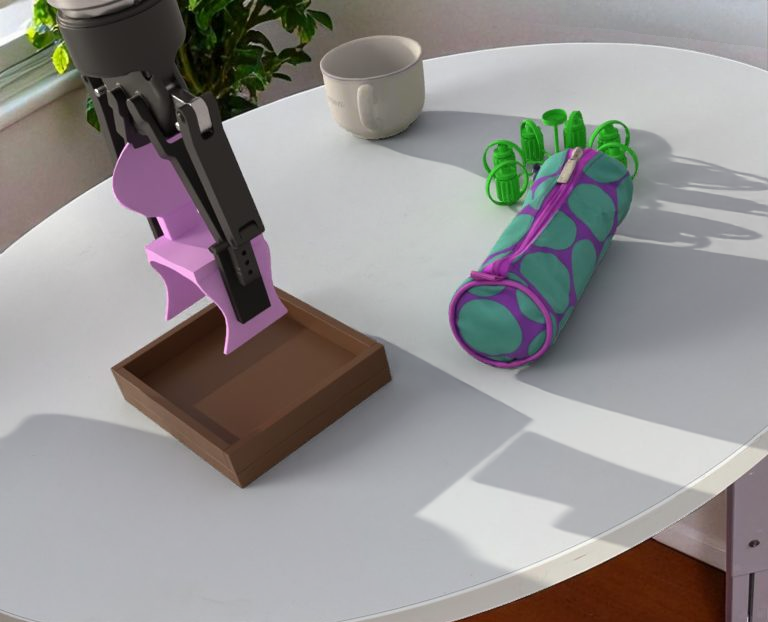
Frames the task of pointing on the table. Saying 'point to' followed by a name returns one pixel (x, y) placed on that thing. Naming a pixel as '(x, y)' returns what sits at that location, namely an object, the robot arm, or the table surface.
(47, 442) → the table surface
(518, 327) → the pencil case
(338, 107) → the teacup
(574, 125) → the chandelier
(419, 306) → the table surface
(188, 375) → the brown wooden tray
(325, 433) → the table surface
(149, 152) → the toy chair
